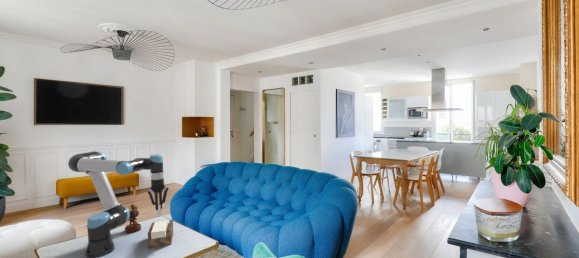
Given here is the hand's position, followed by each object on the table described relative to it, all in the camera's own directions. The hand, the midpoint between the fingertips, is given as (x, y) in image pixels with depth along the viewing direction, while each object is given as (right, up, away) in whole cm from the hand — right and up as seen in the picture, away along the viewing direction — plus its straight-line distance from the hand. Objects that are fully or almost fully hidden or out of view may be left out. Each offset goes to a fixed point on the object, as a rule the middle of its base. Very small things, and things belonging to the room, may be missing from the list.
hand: (159, 214), depth 180 cm
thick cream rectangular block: (0, -12, +2) cm, 13 cm away
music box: (-32, -20, +26) cm, 46 cm away
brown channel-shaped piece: (-2, -20, +8) cm, 22 cm away
